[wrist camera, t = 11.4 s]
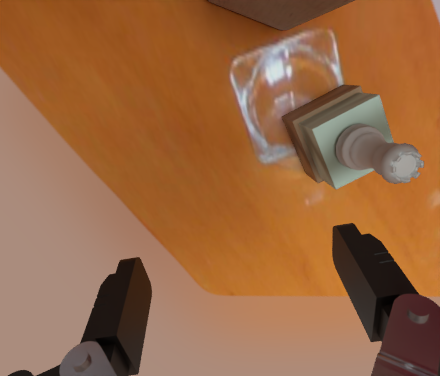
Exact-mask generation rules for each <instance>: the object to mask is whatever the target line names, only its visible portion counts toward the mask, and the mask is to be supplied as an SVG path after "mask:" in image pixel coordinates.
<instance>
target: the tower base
mask: <svg viewBox="0 0 440 376" xmlns="http://www.w3.org/2000/svg"><path fill="white" fill-rule="evenodd" d="M282 119H283V121H284V123H285V126H286V128H287V130H288V133H289V135H290V137H291V140H292V142H293V144H294V147H295V149H296V151H297V154H298V156H299V159H300V161H301V163H302V166H303V168H304V170H305V173H306V174H307V175H308V176H310V177H311V178H312V179H313V180H314V181H316V182H317V183H320V182H322V181H325V182H327V183H328V184H329V185H331V186H332V187H333V188H335V189H338V188H340V187H342V186H344V185H346V184H348V183H350V182H352V181H354V180H356V179H358V178H360V177H362V176H364V175H366V174H368V173H370V172H372V171H374V169H373V168H369V169H365V170H354V169H350V168H349V167H345V166H344V165H343V164H342V163H340V162H339V159H338V157H337V155H336V145H337V142H338V139H339V137H340V136H341V134H342V133H343V132H344V131H345V130H346V129H347V128H349V127H351V126H352V125H356V124H366V125H370V126H371V127H375V128H376V129H377V130H378V131H379V132H381V133H382V135H383V137H384V139H385V141H386V142H388V143H391V142H393V139H392V135H391V132H390V129H389V125H388V122H387V119H386V116H385V112H384V109H383V106H382V102H381V99H380V96H379V95H377V94H367V93H363V92H362V89H361V86H354V85H342V86H340V87H338V88H336V89H334V90H332V91H330V92H328V93H327V94H325V95H323V96H321V97H319V98H317V99H315V100H313V101H311V102H309V103H307V104H306V105H304V106H302V107H300V108H298V109H296V110H294V111H292V112H290V113H288V114H286V115H285V116H283V117H282ZM393 143H394V142H393Z"/></svg>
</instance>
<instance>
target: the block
mask: <svg viewBox="0 0 440 376" xmlns="http://www.w3.org/2000/svg"><path fill="white" fill-rule="evenodd" d="M208 1H209V2H211V3H214V4H216V5H219V6H221V7H224V8H226V9H229V10H231V11H234V12H236V13H239V14H241V15H244V16H246V17H249V18H251V19H254V20H256V21H259V22H261V23H264V24H266V25H269V26H271V27H274V28H276V29H279V30H289V29H291V28H293V27H295V26H298V25H300V24H302V23H304V22H307V21H309V20H311V19H314V18H316V17H318V16H320V15H323V14H325V13H327V12H329V11H332V10H334V9H336V8H339V7H341V6H343V5H345V4H348V3H350V2H352V1H354V0H208Z"/></svg>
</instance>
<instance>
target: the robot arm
mask: <svg viewBox="0 0 440 376" xmlns="http://www.w3.org/2000/svg"><path fill="white" fill-rule="evenodd" d="M332 255H333V261H334V265H335V268H336V270H337V272H338V274H339V276H340V278H341V281H342V283H343V285H344V287H345V289H346V291H347V293H348V295H349V297H350V299H351V301H352V303H353V305H354V307H355V310H356V311H357V314H358V316H359V318H360V320H361V322H362V324H363V326H364V328H365V330H366V333H367V335H368V337H369V339H370V341H371V342H375V341H382V345H381V349H380V352H379V353H378V354H377V357H376V361H375V364H374V368H373V371H372V374H371V376H440V307H439V306H438V305H437V304H436V303H435V302H434V301H432V300H430V299H429V298H427V297H424V296H422V295H419V293H418V292H417V291H416V290H415V288H414V287H413V285H412V284H411V283H410V281H409V280H408V278H407V277H406V276H405V274H404V273H403V271H402V270H401V269H400V267H399V266H398V264H397V263H396V262H394V259H393V257H392V256H391V255H390V253H388V250H387V249H386V248H385V246H384V245H383V244H382V242H381V241H380V240H378V239H377V238H375V237H374V236H372V235H371V234H364V235H361V233H360V232H359V230H358V229H357V227H356V226H355V224H353V223H350V224H343V225H337V226H334V227H333V247H332ZM151 297H152V289H151V283H150V280H149V278H148V275H147V273H146V271H145V268H144V266H143V263H142V261H141V259H140V258H139V257H137V258H130V259H124V260H120V262H119V264H118V267H117V271H116V274H110V275H109V276H108V277H107V278H106V279H105V281H104V282H103V283H102V284H101V286H100V289H99V292H98V295H97V299H96V301H95V303H94V308H93V309H92V312H91V315H90V318H89V321H88V323H87V326H86V329H85V332H84V334H83V337H82V340H81V342H80V344H79V345H77V346H76V347H74V348H73V349H72V350H70V351H69V352H68V354H67V355H66V356H65V357H64V359H63V361H62V362H61V364H60V365H58V366H56V367H54V368H52V369H50V370H48V371H46V372H43V373H41V374H39V375H37V376H129V375H136V374H138V373H139V367H140V361H141V355H142V348H143V343H144V338H145V332H146V326H147V320H148V315H149V309H150V303H151ZM8 376H33V375H32V373H31V372H29V371H27V370H20V371H16V372H14V373H12V374H10V375H8Z"/></svg>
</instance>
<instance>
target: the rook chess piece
mask: <svg viewBox="0 0 440 376" xmlns="http://www.w3.org/2000/svg"><path fill="white" fill-rule="evenodd" d="M336 155H337V157H338V159H339V162H340V163H342V164H343V165H344V166H345V167H349V168H350V169H354V170H365V169H369V168H373V169H374V170H375V171H376V172H377V173H378V174H380V175H382V177H383V178H384V179H385V180H386V181H387V182H389V183H394V184H397V183H402V182H403V183H408V182H410V178H411V177H414V178H417V177H418V176H419V175H420V174H421V173H419V172H417V170H418V168H419V167H424V161H422V160H420V157H421V155H420V154H419V153H418V150H417V149H416V148H415V147H414V146H413V145H410V144H406V143H404V144H397V143H393V142H391V143H388V142H386V141H385V139H384V137H383V135H382V133H381V132H379V131H378V130H377V129H376V128H375V127H371V126H370V125H366V124H356V125H352V126H351V127H349V128H347V129H346V130H345V131H344V132H343V133H342V134H341V136H340V137H339V139H338V142H337V145H336Z"/></svg>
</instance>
